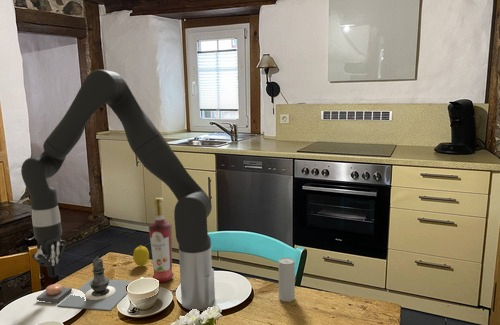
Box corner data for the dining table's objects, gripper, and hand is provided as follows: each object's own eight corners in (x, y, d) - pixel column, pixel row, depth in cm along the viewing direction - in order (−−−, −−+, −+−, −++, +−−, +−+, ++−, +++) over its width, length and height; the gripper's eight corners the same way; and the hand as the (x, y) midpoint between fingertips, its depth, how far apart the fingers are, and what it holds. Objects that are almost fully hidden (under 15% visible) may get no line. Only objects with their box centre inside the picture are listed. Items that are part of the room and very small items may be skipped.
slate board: (138, 282, 131) (138, 281, 131) (110, 310, 114) (110, 309, 114) (91, 279, 134) (91, 278, 134) (57, 306, 117) (57, 305, 117)
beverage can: (285, 293, 122) (285, 256, 120) (298, 298, 119) (298, 260, 117) (275, 298, 119) (275, 260, 117) (287, 304, 115) (287, 265, 114)
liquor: (177, 275, 136) (173, 195, 132) (170, 285, 129) (165, 201, 124) (157, 274, 137) (152, 195, 133) (148, 284, 130) (143, 201, 125)
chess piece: (104, 297, 121) (100, 260, 119) (86, 296, 122) (82, 259, 120) (114, 288, 126) (110, 252, 125) (97, 287, 128) (93, 252, 126)
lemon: (147, 269, 141) (146, 248, 140) (132, 269, 141) (130, 248, 140) (151, 263, 147) (150, 242, 145) (136, 263, 147) (135, 242, 145)
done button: (65, 293, 124) (64, 284, 124) (56, 300, 120) (55, 291, 120) (53, 292, 125) (52, 283, 125) (43, 299, 121) (42, 290, 120)
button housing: (72, 292, 125) (71, 287, 125) (57, 303, 119) (57, 298, 118) (52, 290, 127) (51, 286, 126) (37, 301, 120) (36, 297, 120)
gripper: (42, 229, 112) (50, 286, 114) (71, 215, 124) (77, 267, 127) (19, 228, 113) (27, 285, 116) (50, 215, 126) (56, 266, 129)
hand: (53, 276), depth 121 cm, fingers closed
